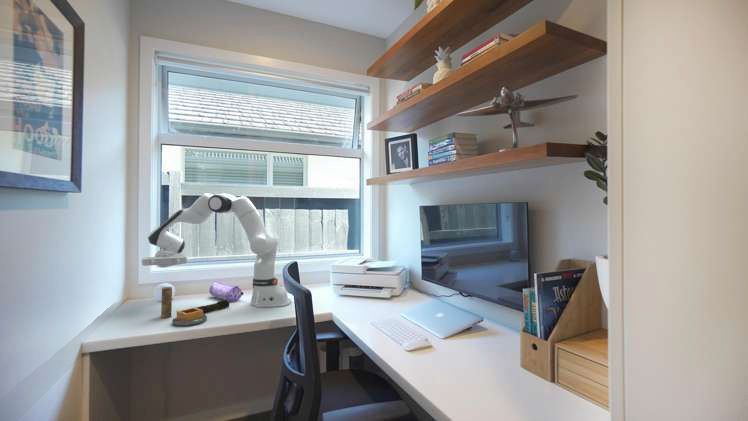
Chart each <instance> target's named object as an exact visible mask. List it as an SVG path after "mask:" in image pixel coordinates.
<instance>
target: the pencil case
mask: <svg viewBox="0 0 748 421" xmlns="http://www.w3.org/2000/svg"><path fill="white" fill-rule="evenodd" d="M209 294H210V296H212V297H216V298H218V299H221V300H228V302H229V303H230V302H232V303H234V302H238V301H239V300H240V299H241V297H242V296H244V292H243V291H242V289H241V288H240V287H239V285H228V284H223V283H222V282H220V281H219V280H214V282H213V283H211V284H210V287H209Z"/></svg>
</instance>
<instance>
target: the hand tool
mask: <svg viewBox="0 0 748 421" xmlns="http://www.w3.org/2000/svg"><path fill="white" fill-rule="evenodd" d="M229 307H230V301H228V300H223V299H221V300H218V301H217V302H215V303H211V304H207V305H201V306H197V307H195V308H198V309H201V310H203V314H204V313H208V312H211V311H216V310H219V311H220V310H224V309H227V308H229Z"/></svg>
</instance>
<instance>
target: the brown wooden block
mask: <svg viewBox="0 0 748 421" xmlns="http://www.w3.org/2000/svg"><path fill="white" fill-rule="evenodd" d="M172 301H173V287H172V286H164V287H161V308H160V310H161V312H160V315H161V316H160V318H161V319H166V318H167V319H168V318H172V311H173V310H172V307H173V304H172V303H173V302H172Z"/></svg>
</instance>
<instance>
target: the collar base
mask: <svg viewBox="0 0 748 421" xmlns="http://www.w3.org/2000/svg"><path fill="white" fill-rule="evenodd" d="M207 319H208V316H207V315H206V314H204V313H203V310H201V309H198V308H196V307H191V308H186V309H182V310H177V311H176V317H175V318H173V319H172V321H171V322H172V323H171V324H172V326H174V327H178V328H179V327H182V328H185V327H187V328H188V327H192V326H198V325H202V324H203V323H205V322H206V321H207Z"/></svg>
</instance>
